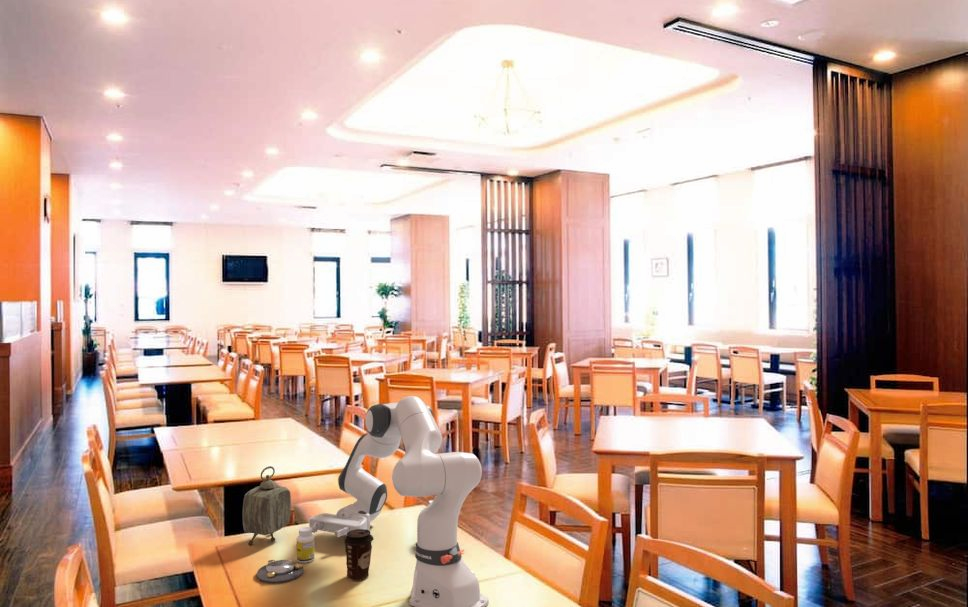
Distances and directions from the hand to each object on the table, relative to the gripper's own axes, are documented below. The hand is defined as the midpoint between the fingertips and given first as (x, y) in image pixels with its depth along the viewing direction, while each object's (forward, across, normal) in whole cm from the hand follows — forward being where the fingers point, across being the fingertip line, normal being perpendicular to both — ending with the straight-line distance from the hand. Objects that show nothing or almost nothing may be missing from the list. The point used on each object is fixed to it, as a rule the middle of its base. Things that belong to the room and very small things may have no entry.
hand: (324, 532), depth 215 cm
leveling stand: (+21, 0, +6) cm, 22 cm away
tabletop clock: (+1, -22, +6) cm, 23 cm away
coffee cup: (+13, +22, +6) cm, 26 cm away
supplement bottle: (+9, 0, +6) cm, 11 cm away
